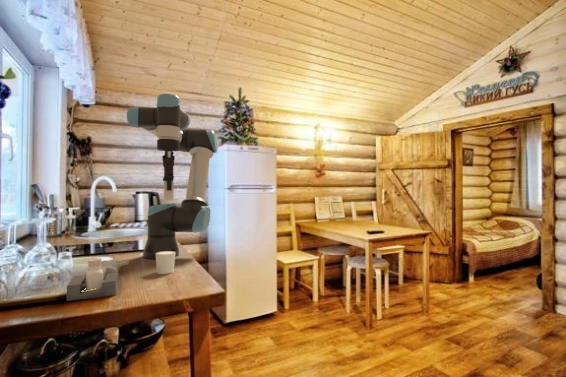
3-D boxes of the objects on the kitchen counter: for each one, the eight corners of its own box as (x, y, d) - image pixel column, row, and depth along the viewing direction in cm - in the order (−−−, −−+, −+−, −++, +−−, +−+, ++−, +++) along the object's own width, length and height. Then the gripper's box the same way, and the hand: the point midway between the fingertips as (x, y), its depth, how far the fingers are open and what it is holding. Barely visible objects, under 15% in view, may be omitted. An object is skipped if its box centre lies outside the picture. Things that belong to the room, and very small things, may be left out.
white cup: (168, 275, 107) (168, 255, 107) (151, 273, 108) (151, 254, 108) (179, 270, 114) (179, 251, 114) (162, 269, 115) (162, 250, 115)
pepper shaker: (85, 292, 89) (86, 259, 89) (101, 289, 91) (102, 257, 91) (86, 296, 85) (87, 261, 85) (103, 293, 88) (103, 260, 88)
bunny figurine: (78, 270, 98) (106, 254, 113) (79, 285, 98) (107, 268, 113) (108, 270, 98) (131, 255, 112) (109, 285, 98) (132, 268, 113)
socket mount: (74, 290, 90) (74, 276, 90) (118, 285, 95) (118, 272, 95) (66, 300, 81) (66, 285, 81) (115, 295, 86) (115, 281, 86)
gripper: (156, 142, 118) (156, 197, 119) (157, 133, 95) (156, 201, 96) (177, 144, 121) (177, 197, 121) (182, 135, 98) (182, 201, 98)
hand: (168, 199), depth 109 cm, fingers open, 13 cm apart
